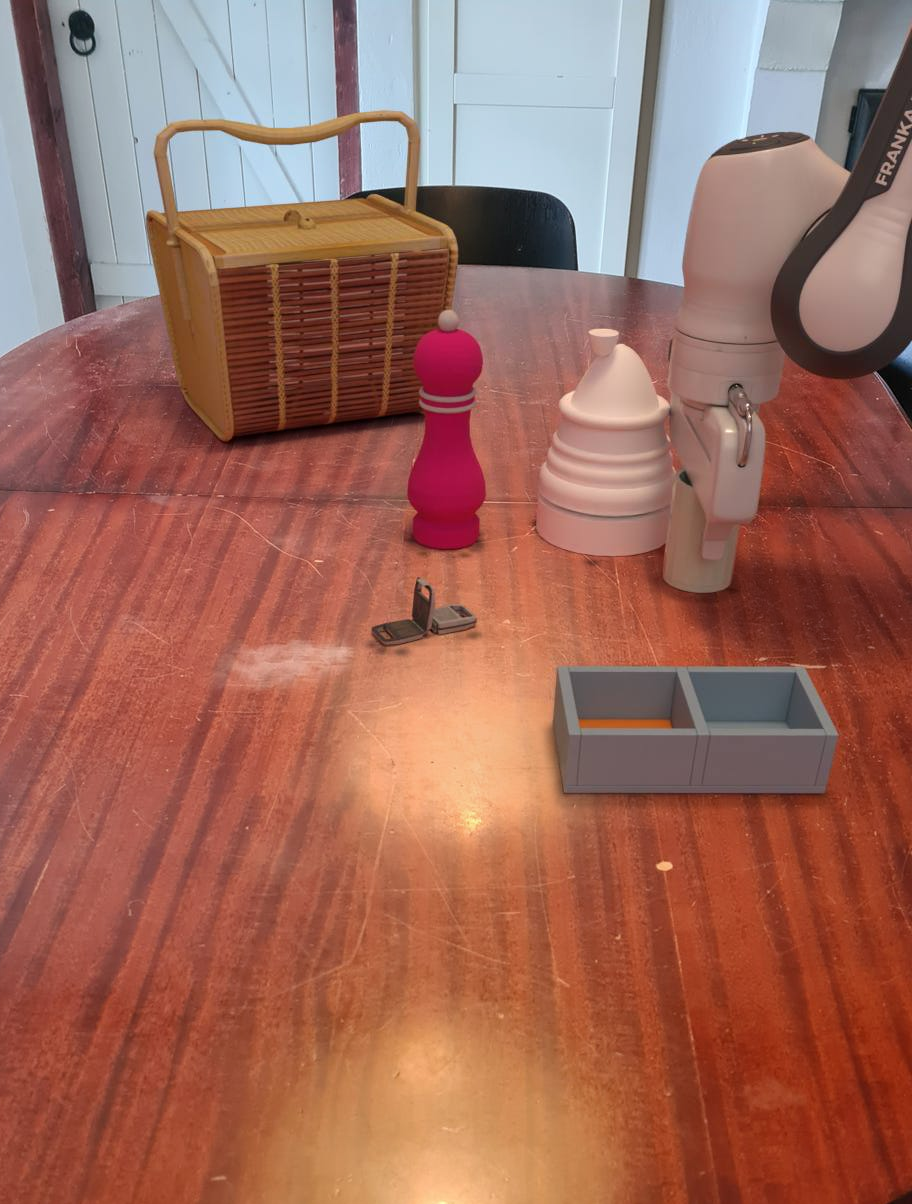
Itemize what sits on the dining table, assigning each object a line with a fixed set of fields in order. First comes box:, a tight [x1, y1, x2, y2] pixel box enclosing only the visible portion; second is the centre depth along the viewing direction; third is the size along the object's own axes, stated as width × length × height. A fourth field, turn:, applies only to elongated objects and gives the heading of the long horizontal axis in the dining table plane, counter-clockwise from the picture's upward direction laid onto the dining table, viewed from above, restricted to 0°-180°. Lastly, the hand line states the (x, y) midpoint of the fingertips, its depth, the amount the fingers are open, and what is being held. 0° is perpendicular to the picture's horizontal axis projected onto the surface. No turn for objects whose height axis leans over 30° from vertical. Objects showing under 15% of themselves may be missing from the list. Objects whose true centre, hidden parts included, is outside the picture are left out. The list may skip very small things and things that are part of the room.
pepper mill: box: [406, 309, 487, 550], centre depth 110 cm, size 7×7×20 cm
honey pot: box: [535, 328, 677, 557], centre depth 112 cm, size 13×13×18 cm
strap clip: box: [371, 576, 478, 645], centre depth 99 cm, size 8×3×4 cm, turn 115°
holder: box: [552, 665, 840, 794], centre depth 84 cm, size 17×9×5 cm, turn 90°
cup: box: [662, 469, 742, 594], centre depth 106 cm, size 6×6×9 cm
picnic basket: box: [145, 109, 459, 443], centre depth 136 cm, size 29×26×30 cm
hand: (700, 533), depth 106 cm, fingers open, 8 cm apart
